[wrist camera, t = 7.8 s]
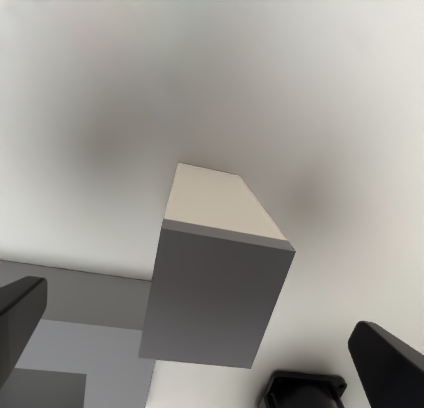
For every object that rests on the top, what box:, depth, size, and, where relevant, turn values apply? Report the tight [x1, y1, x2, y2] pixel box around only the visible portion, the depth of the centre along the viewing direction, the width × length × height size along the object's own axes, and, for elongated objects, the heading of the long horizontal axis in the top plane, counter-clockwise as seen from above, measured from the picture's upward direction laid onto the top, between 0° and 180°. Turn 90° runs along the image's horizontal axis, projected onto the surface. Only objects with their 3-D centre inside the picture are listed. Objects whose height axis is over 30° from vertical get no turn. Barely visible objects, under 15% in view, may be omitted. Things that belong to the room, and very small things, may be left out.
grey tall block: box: [138, 163, 296, 369], centre depth 11 cm, size 4×4×9 cm
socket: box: [0, 260, 155, 408], centre depth 16 cm, size 18×12×4 cm, turn 77°
